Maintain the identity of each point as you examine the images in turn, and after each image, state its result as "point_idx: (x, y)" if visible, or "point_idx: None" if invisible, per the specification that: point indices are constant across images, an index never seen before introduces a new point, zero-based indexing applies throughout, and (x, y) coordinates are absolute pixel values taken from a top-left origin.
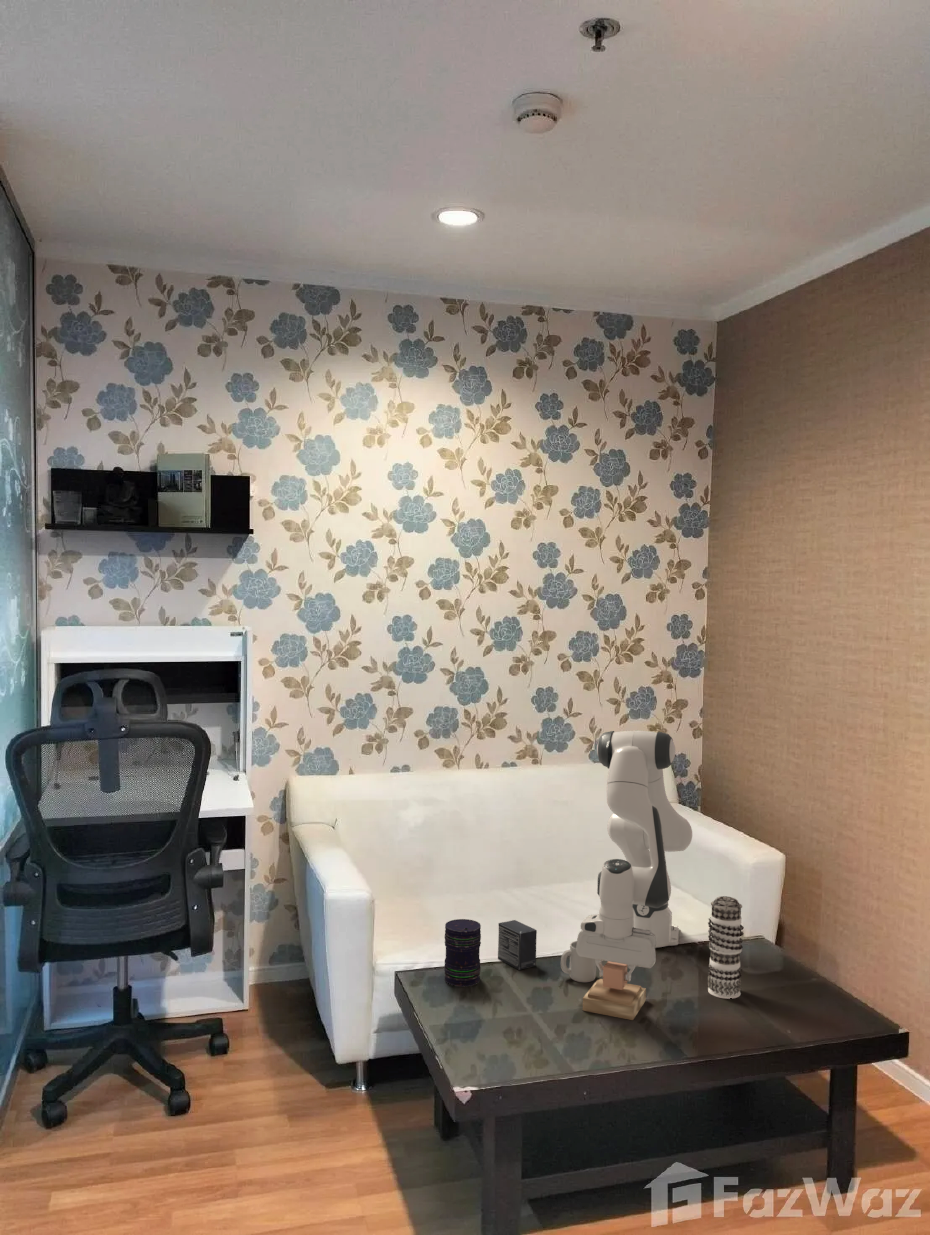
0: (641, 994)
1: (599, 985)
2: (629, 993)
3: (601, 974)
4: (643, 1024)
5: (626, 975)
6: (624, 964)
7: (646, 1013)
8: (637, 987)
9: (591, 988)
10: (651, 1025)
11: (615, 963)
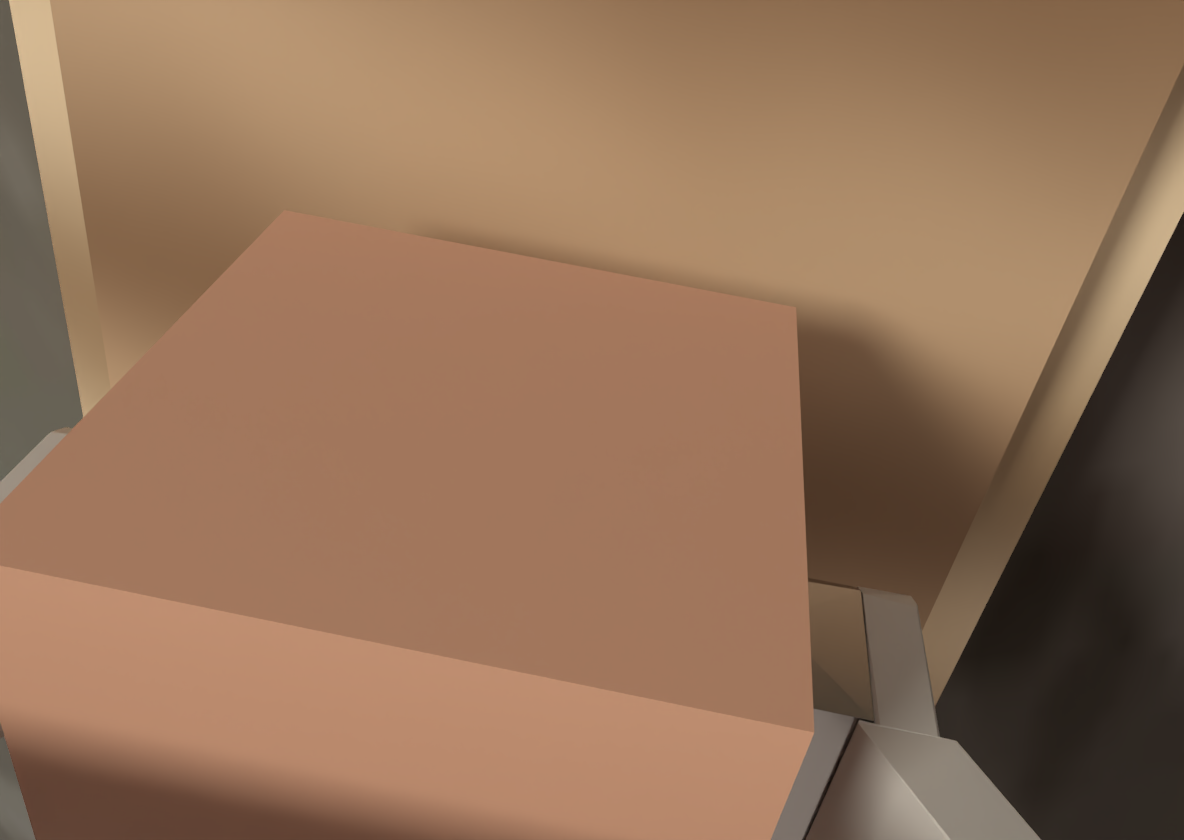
0: (1125, 308)
1: (178, 255)
2: (850, 486)
3: None
4: (1017, 699)
5: (783, 825)
6: (686, 813)
7: (1117, 414)
8: (1074, 139)
9: (73, 262)
10: (1124, 708)
11: (322, 772)
